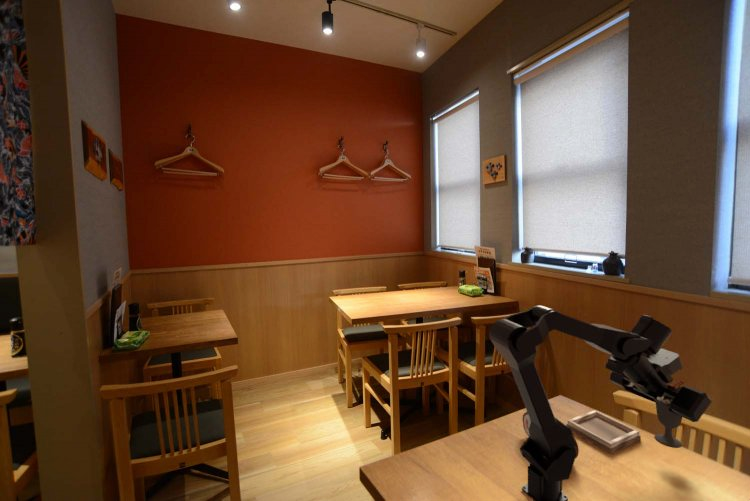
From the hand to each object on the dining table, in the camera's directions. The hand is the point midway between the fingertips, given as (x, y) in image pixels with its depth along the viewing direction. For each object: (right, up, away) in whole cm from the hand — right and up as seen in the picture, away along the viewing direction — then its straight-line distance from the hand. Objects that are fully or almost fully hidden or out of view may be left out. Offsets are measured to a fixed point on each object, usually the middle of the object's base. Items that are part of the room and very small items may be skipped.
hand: (673, 408), depth 80 cm
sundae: (-1, -8, 0) cm, 8 cm away
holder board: (-8, -13, +13) cm, 20 cm away
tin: (-26, -14, +7) cm, 30 cm away
